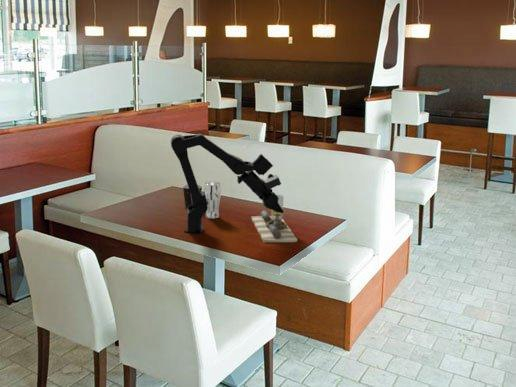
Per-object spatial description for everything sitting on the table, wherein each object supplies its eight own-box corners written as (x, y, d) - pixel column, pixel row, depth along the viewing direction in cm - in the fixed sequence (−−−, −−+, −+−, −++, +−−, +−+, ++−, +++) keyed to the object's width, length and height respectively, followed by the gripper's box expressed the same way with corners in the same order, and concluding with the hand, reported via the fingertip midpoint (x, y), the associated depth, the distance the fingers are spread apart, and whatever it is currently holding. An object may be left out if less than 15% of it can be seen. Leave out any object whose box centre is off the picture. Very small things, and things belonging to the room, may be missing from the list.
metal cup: (284, 228, 237) (285, 197, 233) (274, 229, 234) (275, 198, 231) (278, 224, 241) (280, 194, 237) (268, 225, 238) (270, 195, 235)
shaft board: (297, 241, 223) (297, 232, 222) (264, 242, 221) (264, 233, 220) (280, 217, 254) (280, 209, 253) (251, 218, 252) (251, 209, 251)
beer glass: (201, 217, 250) (201, 183, 247) (209, 213, 256) (210, 180, 253) (214, 220, 247) (215, 186, 243) (223, 216, 253) (223, 183, 249)
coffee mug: (192, 204, 271) (192, 183, 268) (205, 207, 265) (206, 186, 263) (174, 208, 262) (174, 187, 259) (187, 212, 257) (187, 190, 254)
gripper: (273, 174, 222) (300, 201, 227) (265, 164, 240) (289, 190, 244) (252, 194, 223) (279, 221, 227) (245, 183, 240) (270, 208, 245)
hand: (280, 209), depth 236 cm, fingers open, 9 cm apart
